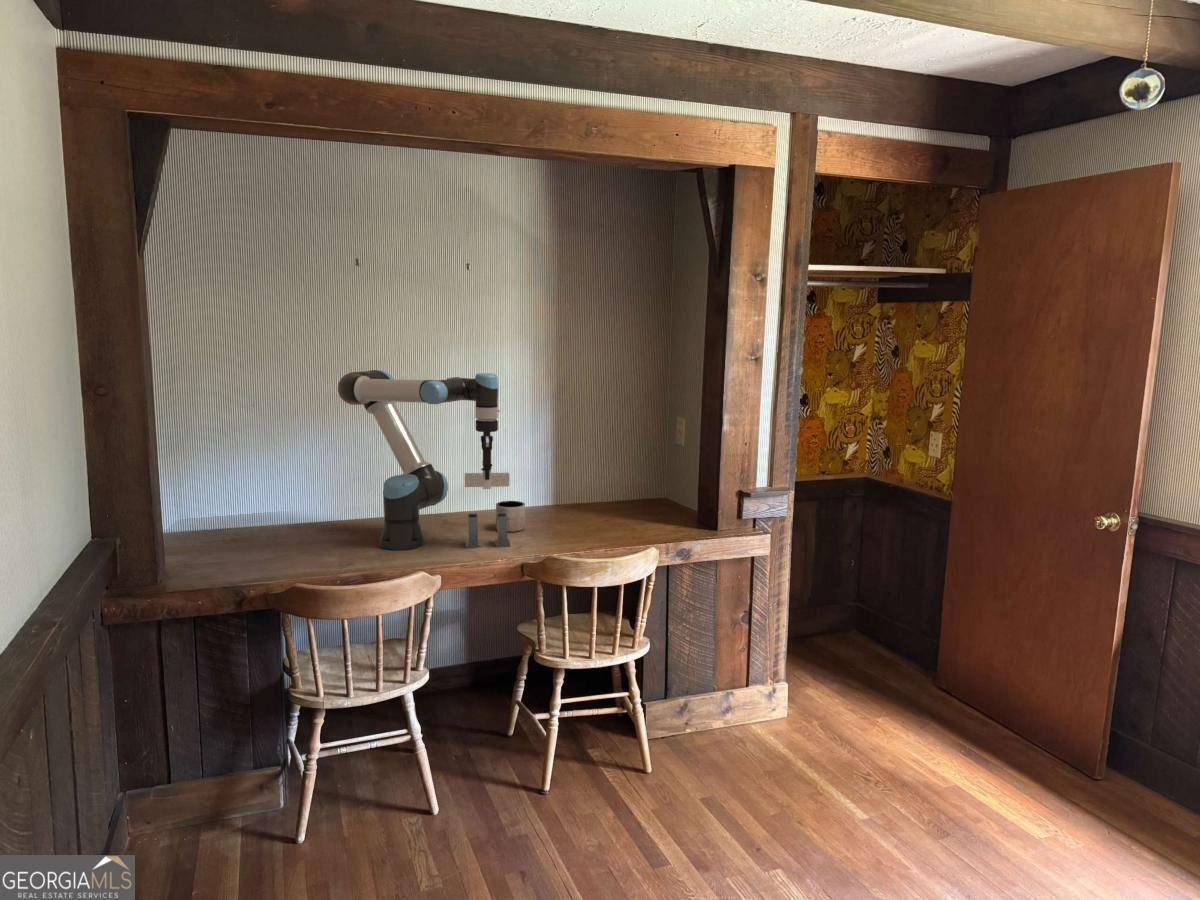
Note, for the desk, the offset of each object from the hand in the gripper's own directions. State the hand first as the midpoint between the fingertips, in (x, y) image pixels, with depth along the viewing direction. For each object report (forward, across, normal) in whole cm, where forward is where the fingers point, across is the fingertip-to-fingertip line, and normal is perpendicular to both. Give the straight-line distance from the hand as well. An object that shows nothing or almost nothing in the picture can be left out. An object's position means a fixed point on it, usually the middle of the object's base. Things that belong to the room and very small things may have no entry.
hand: (486, 487), depth 271 cm
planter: (+21, +20, -9) cm, 30 cm away
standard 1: (+20, 0, +5) cm, 21 cm away
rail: (-1, 0, 0) cm, 1 cm away
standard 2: (+20, 0, -5) cm, 21 cm away
